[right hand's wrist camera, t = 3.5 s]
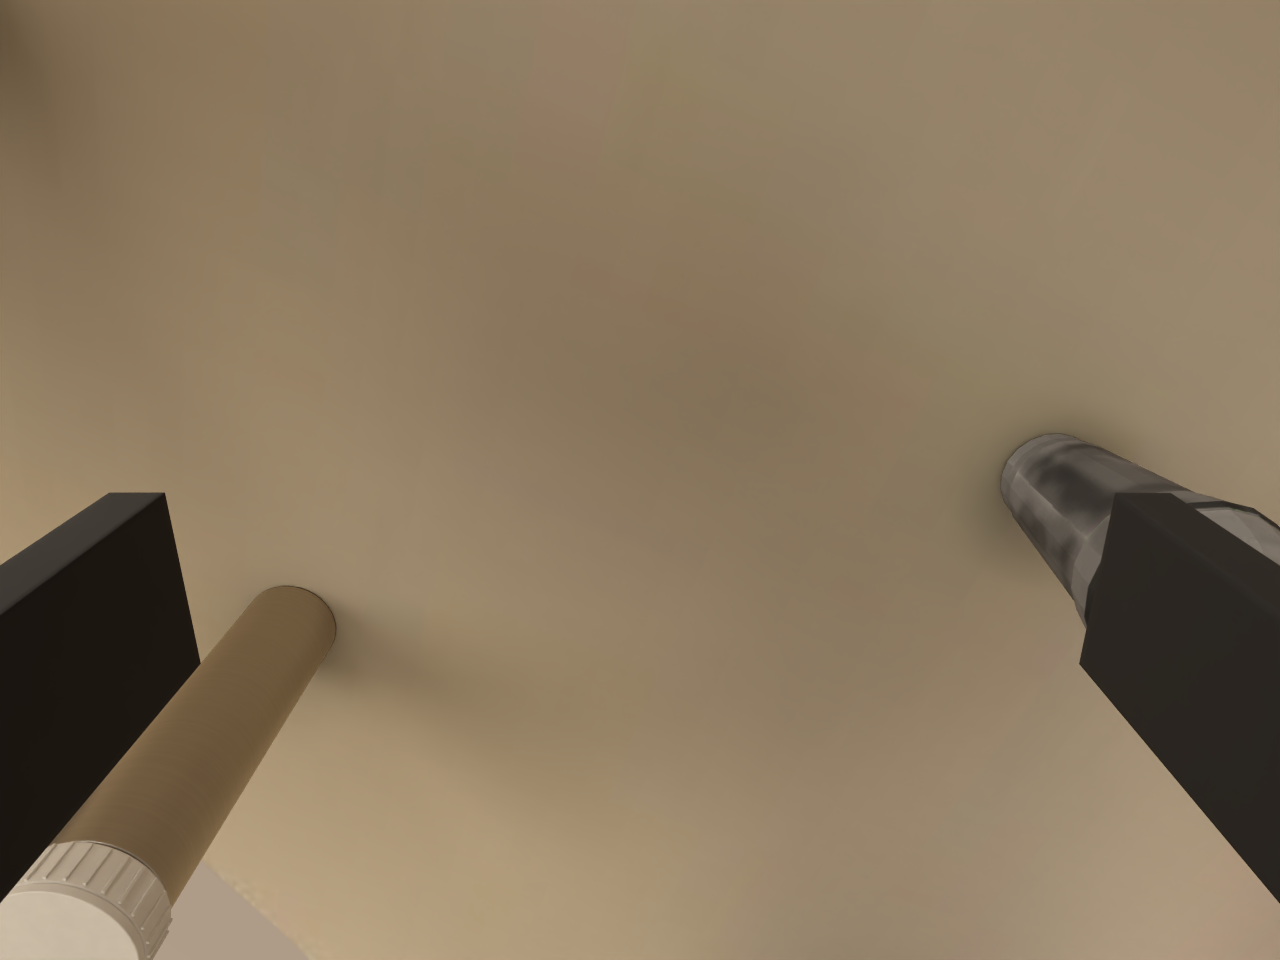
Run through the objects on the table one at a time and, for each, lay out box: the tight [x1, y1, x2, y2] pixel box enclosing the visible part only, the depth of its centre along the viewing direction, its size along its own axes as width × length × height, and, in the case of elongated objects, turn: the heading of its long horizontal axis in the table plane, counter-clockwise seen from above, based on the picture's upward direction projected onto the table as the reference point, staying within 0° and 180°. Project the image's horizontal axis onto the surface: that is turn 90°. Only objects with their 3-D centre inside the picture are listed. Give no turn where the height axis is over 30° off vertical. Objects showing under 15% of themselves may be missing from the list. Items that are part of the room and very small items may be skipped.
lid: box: [0, 842, 172, 960], centre depth 28 cm, size 5×5×2 cm
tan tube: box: [48, 586, 336, 907], centre depth 36 cm, size 4×4×19 cm
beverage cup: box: [1001, 434, 1280, 629], centre depth 32 cm, size 7×7×20 cm
